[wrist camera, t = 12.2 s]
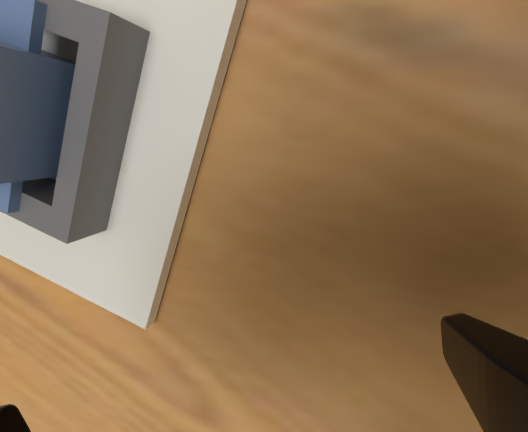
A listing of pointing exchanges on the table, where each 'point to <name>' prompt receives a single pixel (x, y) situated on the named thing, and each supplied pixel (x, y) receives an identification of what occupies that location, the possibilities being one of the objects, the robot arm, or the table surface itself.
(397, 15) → the table surface
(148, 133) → the plate
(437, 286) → the table surface
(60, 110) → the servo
